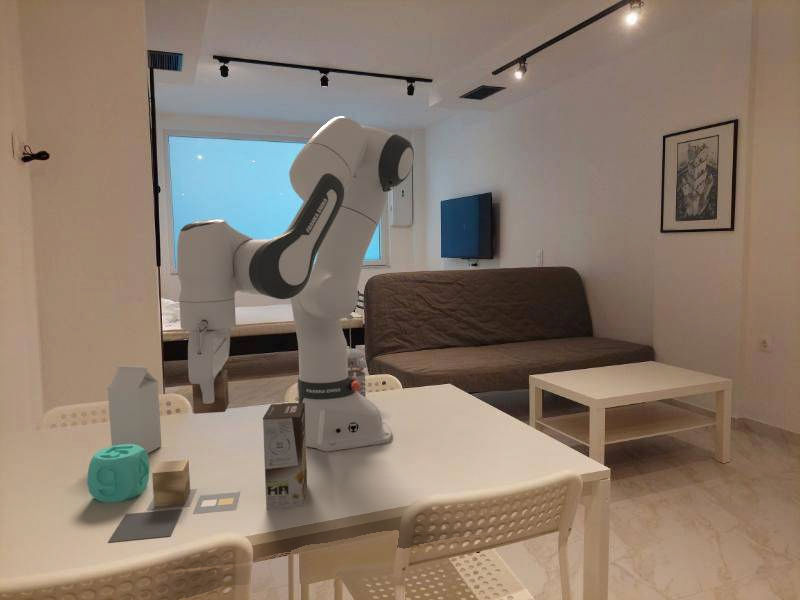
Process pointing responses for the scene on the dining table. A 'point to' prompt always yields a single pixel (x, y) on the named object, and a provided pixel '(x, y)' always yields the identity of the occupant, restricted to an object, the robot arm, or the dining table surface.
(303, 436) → the coffee box
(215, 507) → the code tile
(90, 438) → the dining table surface
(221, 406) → the walnut block
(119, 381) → the milk carton
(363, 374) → the french press
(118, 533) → the felt pad
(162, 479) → the oak block
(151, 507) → the code tile
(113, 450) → the decorative dice
